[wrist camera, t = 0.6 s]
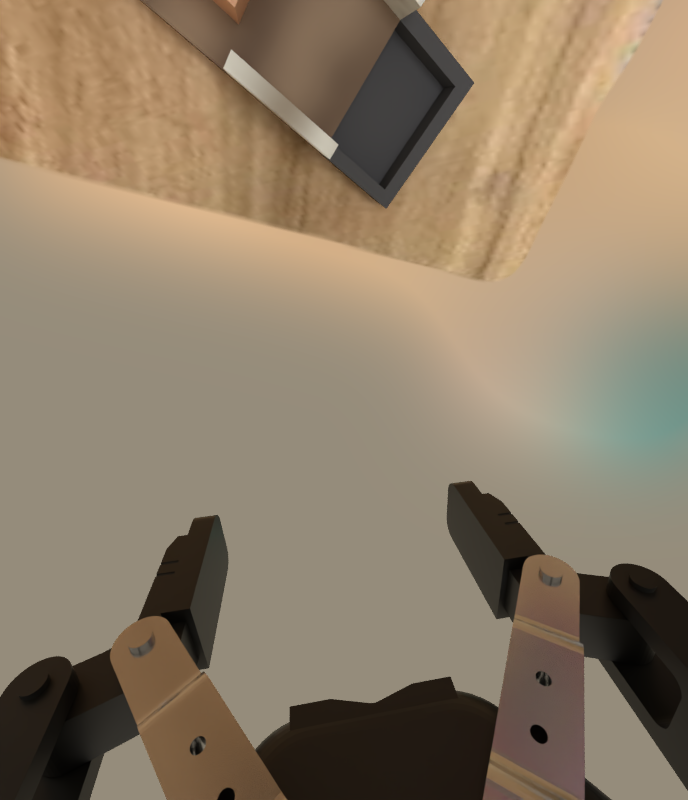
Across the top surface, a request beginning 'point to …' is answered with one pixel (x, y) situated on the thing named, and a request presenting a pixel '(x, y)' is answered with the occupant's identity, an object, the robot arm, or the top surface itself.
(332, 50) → the walnut platform
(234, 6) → the terracotta block
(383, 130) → the tray
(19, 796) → the robot arm
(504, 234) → the top surface
